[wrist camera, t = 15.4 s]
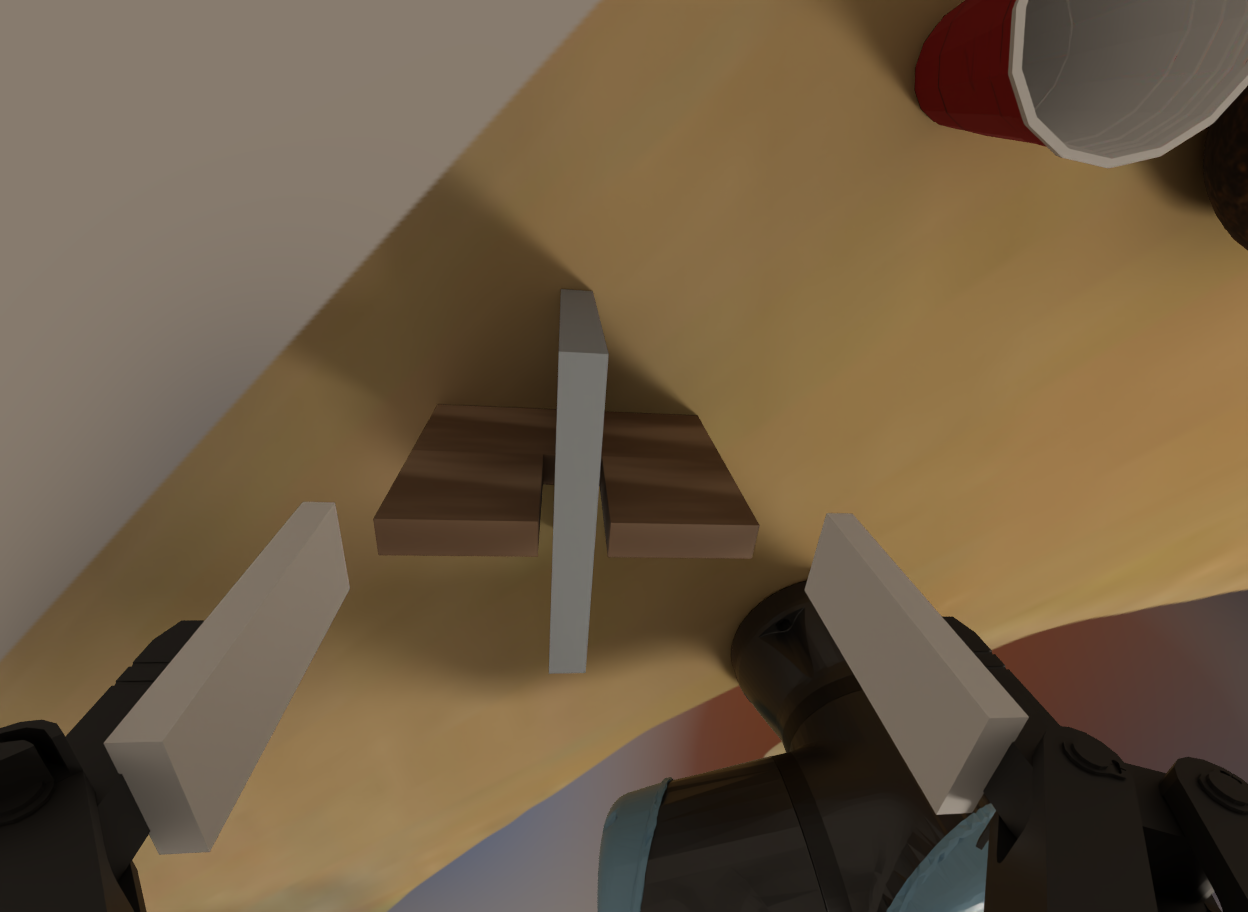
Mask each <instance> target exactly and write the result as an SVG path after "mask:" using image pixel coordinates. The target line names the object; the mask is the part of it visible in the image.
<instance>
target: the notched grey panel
mask: <svg viewBox="0 0 1248 912" xmlns="http://www.w3.org/2000/svg"><path fill="white" fill-rule="evenodd" d="M608 355H609V354H608V350H607V346H606V342H605V338H604V334H603V330H602V326H601V322H600V318H599V314H598V310H597V306H596V302H595V298H594V294H593V291H582V290H568V289H561V301H560V331H559V362H558V394H557V426H556V459H555V491H554V523H553V555H552V588H551V620H550V652H549V674H550V673H585V672H586V659H587V645H588V631H589V617H590V603H591V590H592V576H593V562H594V548H595V535H596V521H597V507H598V493H599V479H600V466H601V452H602V438H603V424H604V410H605V397H606V383H607V369H608Z"/></svg>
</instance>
